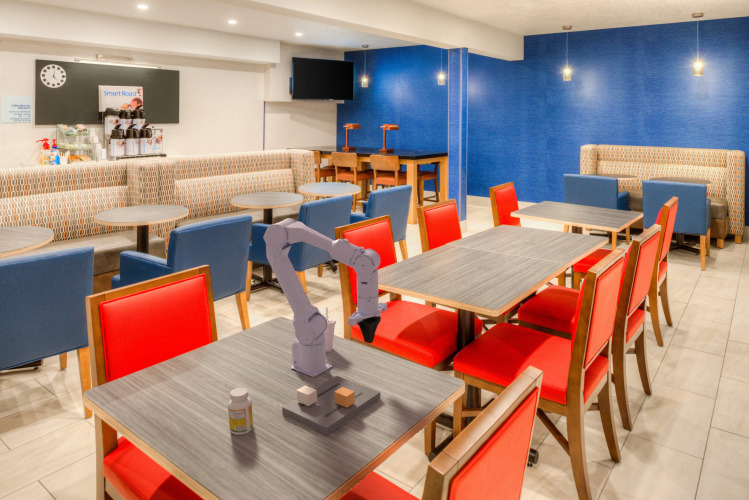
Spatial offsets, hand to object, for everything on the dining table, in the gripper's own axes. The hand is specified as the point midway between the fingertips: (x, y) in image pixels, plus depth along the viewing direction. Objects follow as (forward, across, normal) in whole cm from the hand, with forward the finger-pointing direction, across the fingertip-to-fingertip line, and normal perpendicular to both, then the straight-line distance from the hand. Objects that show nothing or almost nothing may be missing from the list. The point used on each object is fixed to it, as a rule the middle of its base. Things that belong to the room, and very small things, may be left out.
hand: (368, 341), depth 145 cm
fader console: (+10, -18, -2) cm, 21 cm away
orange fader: (+8, -18, -6) cm, 21 cm away
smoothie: (+11, +6, +22) cm, 25 cm away
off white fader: (+8, -23, +2) cm, 24 cm away
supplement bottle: (+11, -38, +8) cm, 40 cm away
